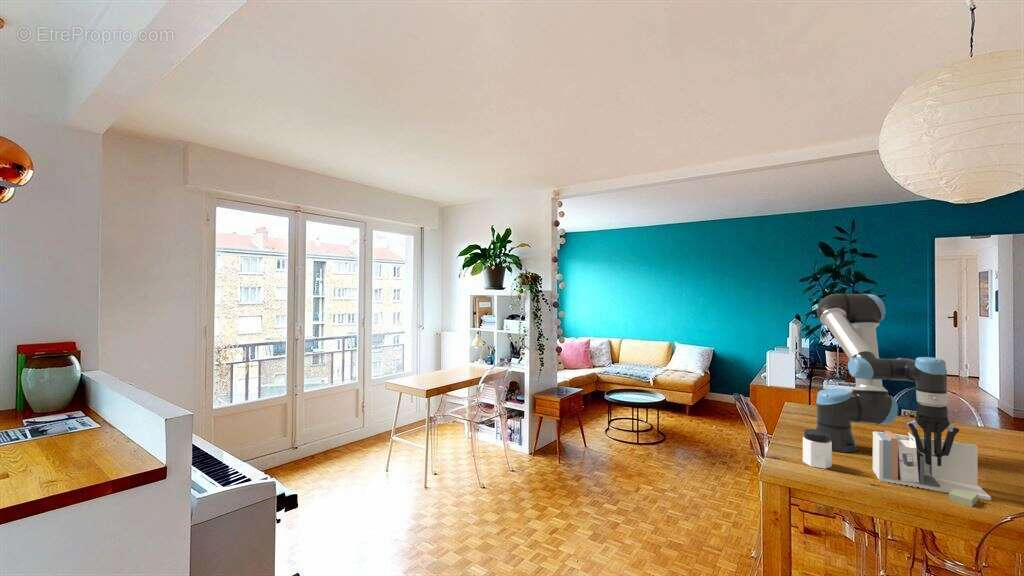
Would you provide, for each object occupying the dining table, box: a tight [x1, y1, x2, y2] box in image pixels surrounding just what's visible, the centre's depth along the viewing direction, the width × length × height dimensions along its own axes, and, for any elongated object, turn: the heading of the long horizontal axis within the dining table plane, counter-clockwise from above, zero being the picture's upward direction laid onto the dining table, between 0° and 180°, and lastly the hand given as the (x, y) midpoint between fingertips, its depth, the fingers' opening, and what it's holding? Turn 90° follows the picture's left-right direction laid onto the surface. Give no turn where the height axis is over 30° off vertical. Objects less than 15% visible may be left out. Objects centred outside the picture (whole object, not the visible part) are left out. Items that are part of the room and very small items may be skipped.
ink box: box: [898, 431, 919, 483], centre depth 150 cm, size 9×5×15 cm, turn 149°
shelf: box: [872, 430, 992, 501], centre depth 147 cm, size 27×11×15 cm, turn 60°
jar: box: [802, 428, 833, 470], centre depth 163 cm, size 9×8×12 cm
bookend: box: [917, 450, 940, 487], centre depth 147 cm, size 5×8×9 cm, turn 150°
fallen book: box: [948, 488, 979, 508], centre depth 135 cm, size 7×5×2 cm
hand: (933, 474), depth 146 cm, fingers closed
